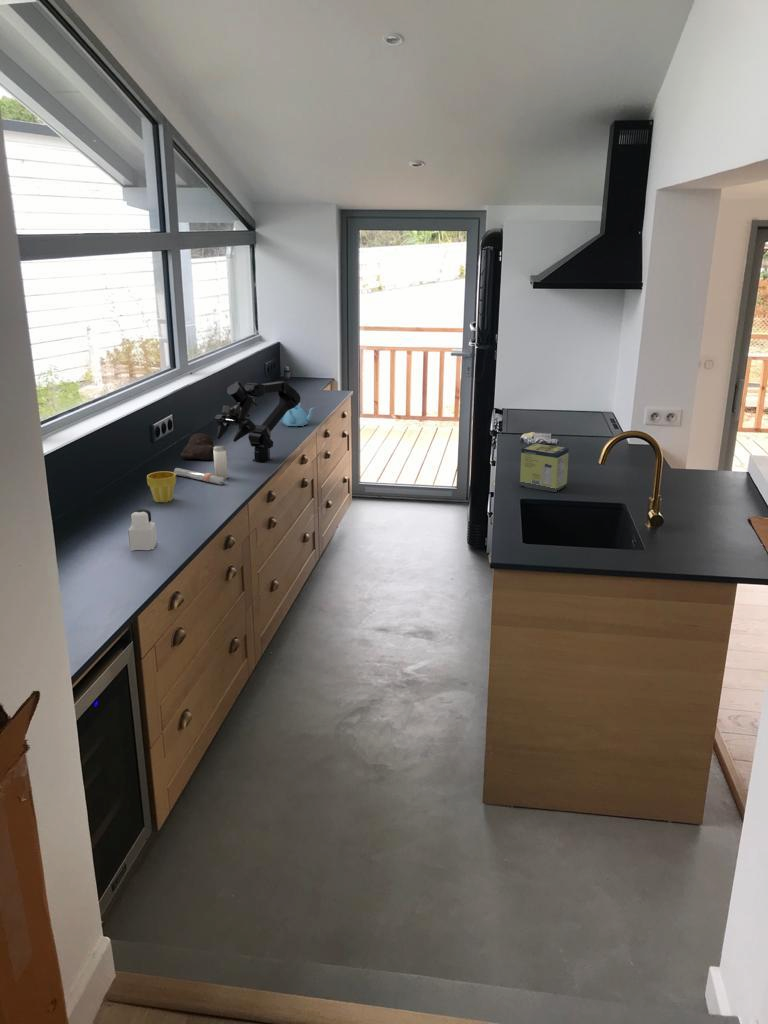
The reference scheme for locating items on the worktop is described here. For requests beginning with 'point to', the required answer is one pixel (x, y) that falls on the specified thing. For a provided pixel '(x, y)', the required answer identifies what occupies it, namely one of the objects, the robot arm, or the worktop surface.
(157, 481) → the plant pot
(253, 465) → the worktop surface
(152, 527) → the medicine bottle
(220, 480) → the grey steel rod
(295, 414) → the teapot
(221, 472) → the white grey cylinder
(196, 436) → the dark brown lump
